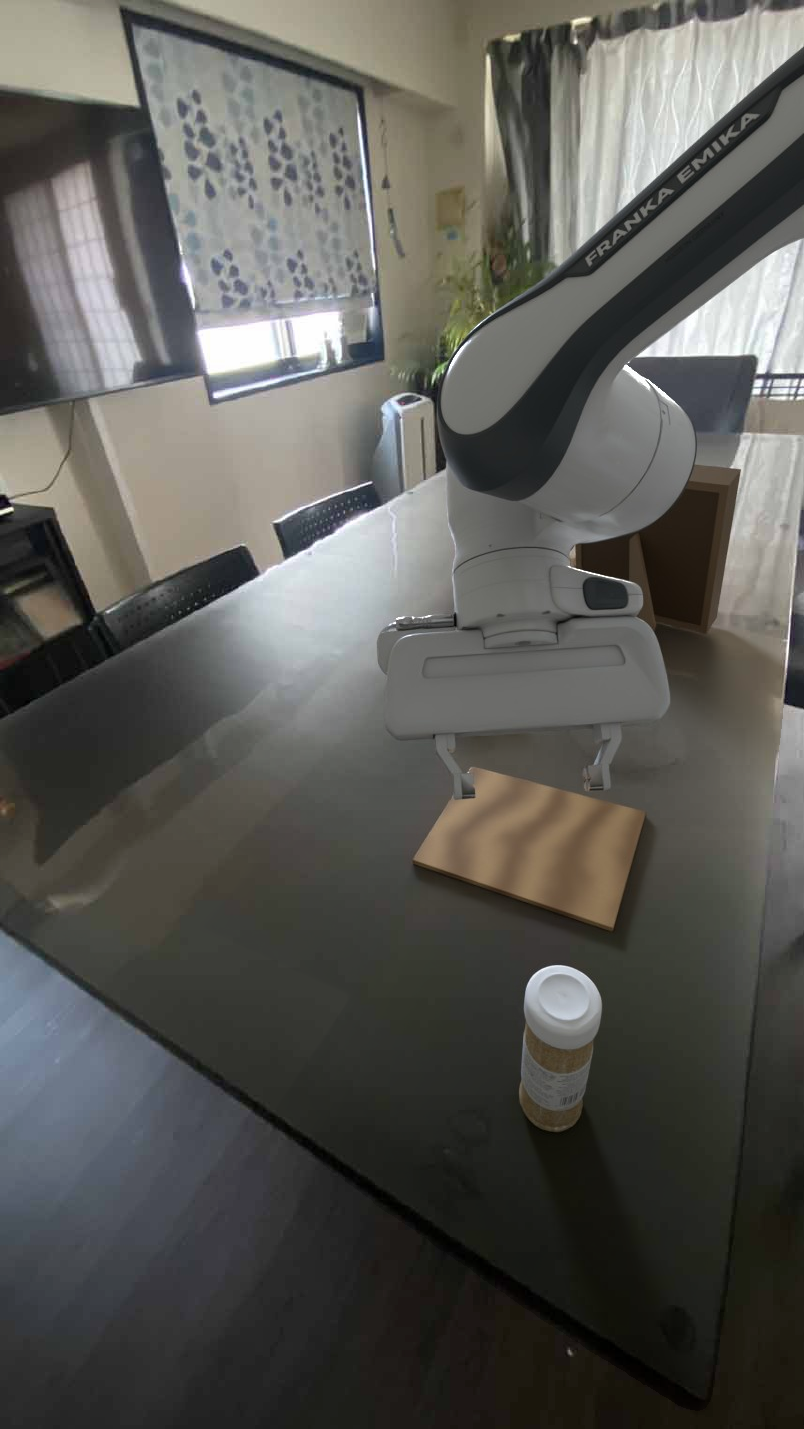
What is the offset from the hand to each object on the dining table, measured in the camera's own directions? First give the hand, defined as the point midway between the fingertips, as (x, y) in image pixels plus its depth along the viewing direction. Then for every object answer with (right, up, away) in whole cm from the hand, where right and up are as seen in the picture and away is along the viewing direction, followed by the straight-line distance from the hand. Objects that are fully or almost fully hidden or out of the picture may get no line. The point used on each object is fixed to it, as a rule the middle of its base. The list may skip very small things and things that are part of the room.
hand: (531, 795), depth 45 cm
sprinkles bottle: (+1, -22, +1) cm, 22 cm away
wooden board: (+4, -7, +21) cm, 23 cm away
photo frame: (+28, +20, +58) cm, 67 cm away
